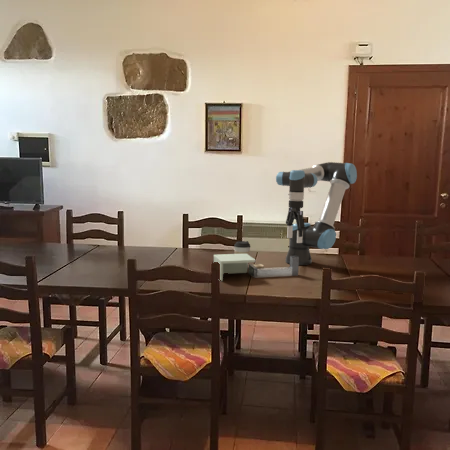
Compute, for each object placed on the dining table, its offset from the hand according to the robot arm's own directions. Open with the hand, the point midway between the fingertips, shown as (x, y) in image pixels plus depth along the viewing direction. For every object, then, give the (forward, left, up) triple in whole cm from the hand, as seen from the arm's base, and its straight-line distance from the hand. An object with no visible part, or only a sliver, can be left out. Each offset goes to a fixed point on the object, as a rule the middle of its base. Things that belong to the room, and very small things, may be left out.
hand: (294, 240), depth 269 cm
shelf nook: (+32, -2, -19) cm, 37 cm away
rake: (+10, -2, -19) cm, 21 cm away
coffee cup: (+23, -18, -19) cm, 35 cm away
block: (+18, -4, -19) cm, 26 cm away
